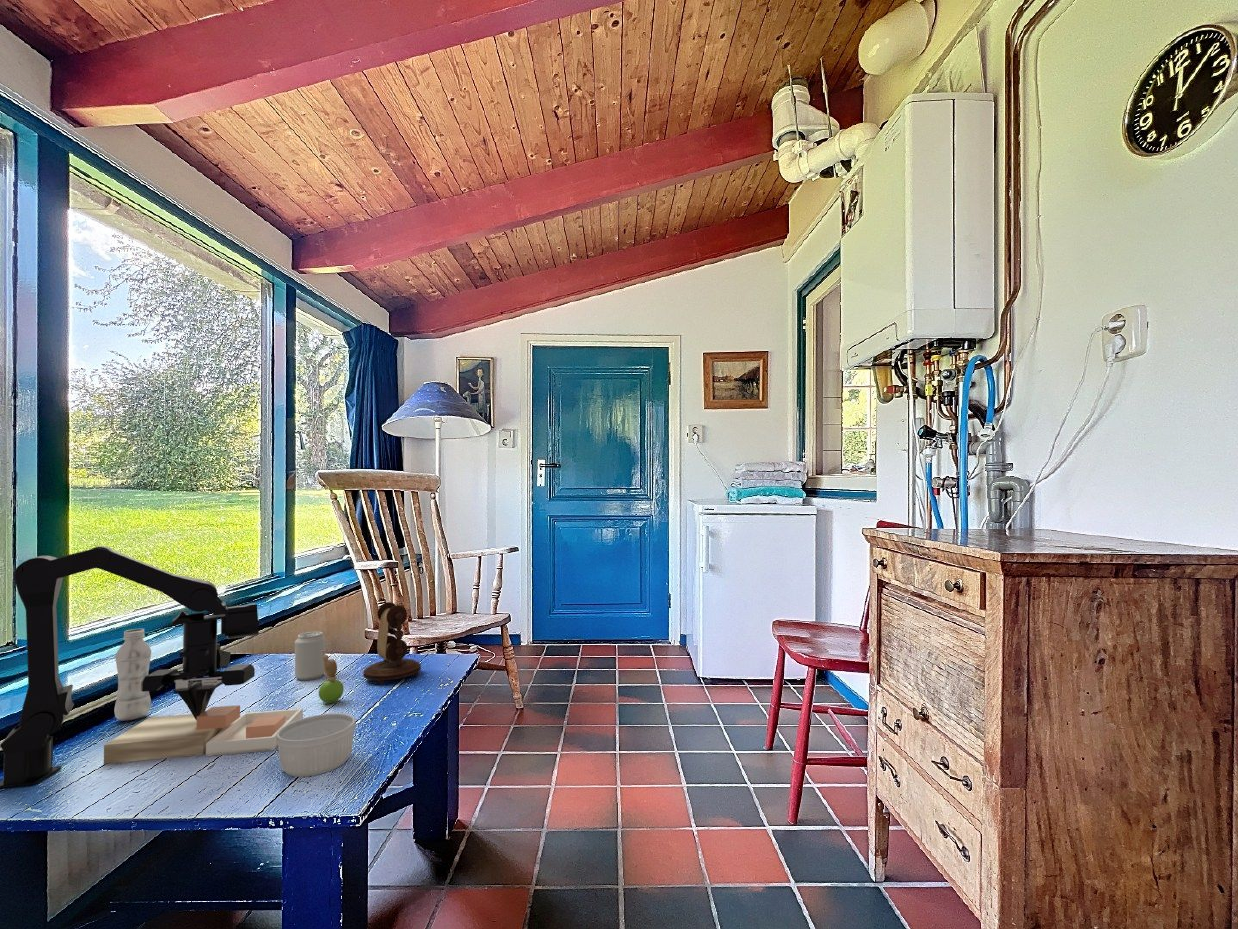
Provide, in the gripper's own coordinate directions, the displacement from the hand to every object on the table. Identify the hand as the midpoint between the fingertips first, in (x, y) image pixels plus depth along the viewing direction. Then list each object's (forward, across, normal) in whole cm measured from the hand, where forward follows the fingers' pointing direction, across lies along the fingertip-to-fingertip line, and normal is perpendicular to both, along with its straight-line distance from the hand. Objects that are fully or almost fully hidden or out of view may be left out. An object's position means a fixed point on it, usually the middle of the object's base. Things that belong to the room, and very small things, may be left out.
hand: (199, 719), depth 120 cm
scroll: (+5, -31, -36) cm, 47 cm away
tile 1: (+1, -4, 0) cm, 4 cm away
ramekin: (+5, -28, +16) cm, 32 cm away
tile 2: (+1, -13, 0) cm, 13 cm away
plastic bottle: (+5, +22, -18) cm, 29 cm away
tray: (+4, -11, 0) cm, 12 cm away
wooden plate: (+4, +4, 0) cm, 6 cm away
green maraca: (+5, -20, -19) cm, 28 cm away
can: (+5, -8, -42) cm, 43 cm away
